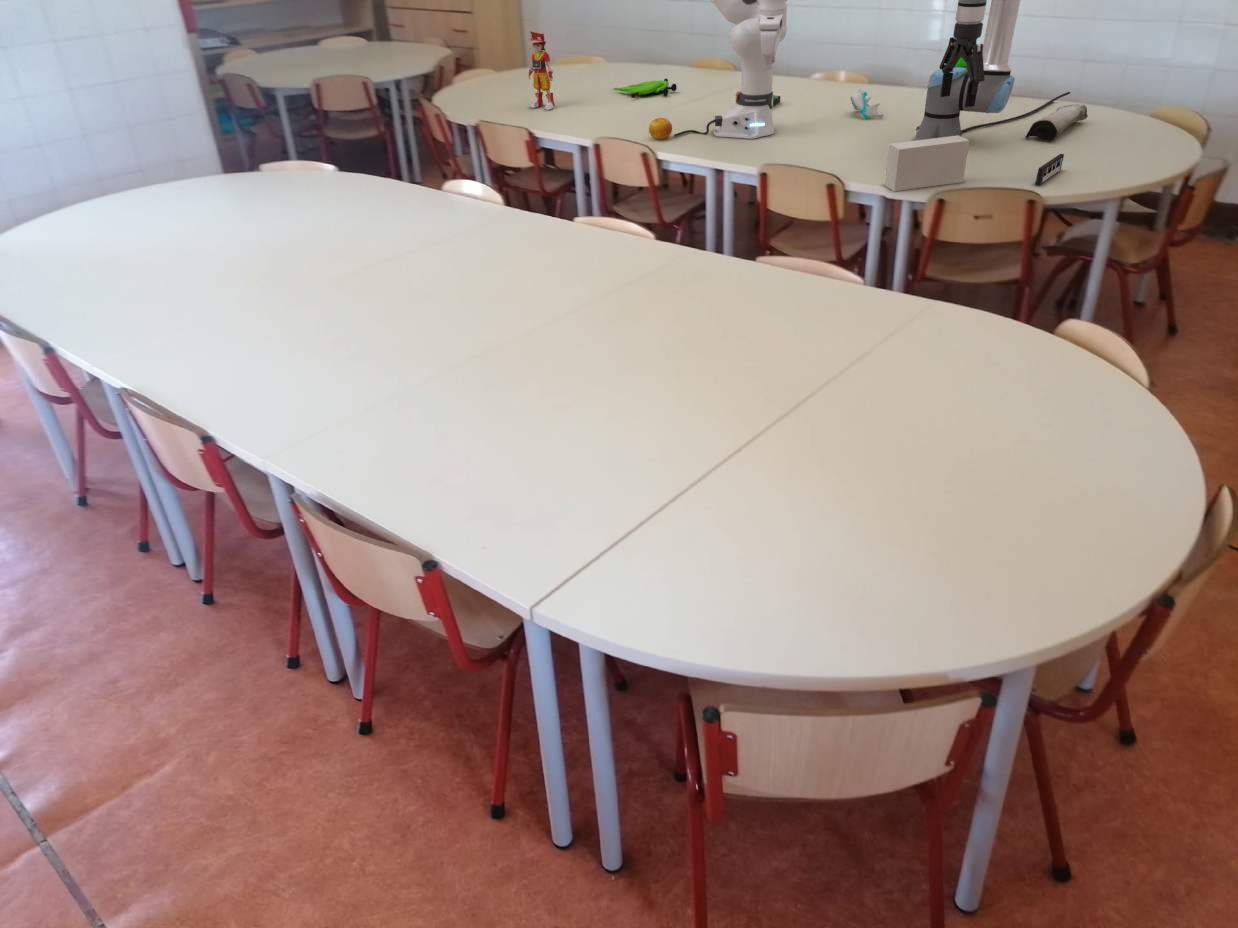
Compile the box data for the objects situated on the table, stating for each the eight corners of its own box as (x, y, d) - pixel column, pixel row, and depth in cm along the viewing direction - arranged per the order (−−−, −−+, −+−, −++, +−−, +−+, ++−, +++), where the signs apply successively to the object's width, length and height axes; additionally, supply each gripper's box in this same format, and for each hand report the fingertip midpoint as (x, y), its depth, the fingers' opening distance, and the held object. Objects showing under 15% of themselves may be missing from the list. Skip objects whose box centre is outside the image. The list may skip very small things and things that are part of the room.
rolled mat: (1054, 109, 326) (1079, 92, 318) (1068, 130, 327) (1093, 113, 318) (1021, 132, 309) (1046, 114, 301) (1035, 154, 309) (1061, 137, 301)
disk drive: (765, 111, 358) (780, 102, 368) (766, 104, 356) (780, 95, 366) (742, 109, 363) (757, 100, 373) (742, 102, 361) (757, 93, 371)
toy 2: (686, 85, 398) (631, 84, 414) (685, 72, 395) (629, 72, 411) (651, 104, 381) (596, 103, 397) (650, 92, 378) (594, 91, 394)
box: (894, 191, 272) (899, 149, 265) (884, 185, 277) (889, 144, 270) (962, 182, 276) (969, 140, 269) (951, 176, 281) (958, 135, 274)
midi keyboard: (1039, 185, 269) (1043, 168, 266) (1035, 184, 270) (1038, 168, 267) (1060, 170, 279) (1064, 154, 277) (1056, 169, 280) (1060, 153, 277)
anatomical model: (845, 88, 347) (871, 81, 346) (848, 115, 353) (873, 108, 352) (857, 97, 335) (883, 90, 334) (859, 125, 341) (885, 118, 340)
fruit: (641, 130, 330) (653, 111, 327) (649, 133, 338) (660, 114, 335) (659, 143, 329) (671, 123, 326) (666, 146, 337) (678, 126, 334)
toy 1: (525, 109, 381) (517, 32, 364) (534, 104, 388) (527, 28, 371) (550, 110, 377) (543, 32, 360) (559, 105, 384) (553, 28, 367)
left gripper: (765, 14, 290) (763, 60, 298) (758, 25, 274) (756, 73, 281) (785, 13, 288) (783, 59, 296) (779, 24, 272) (776, 73, 280)
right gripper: (1006, 27, 243) (992, 109, 255) (957, 14, 263) (946, 91, 275) (981, 30, 241) (968, 112, 254) (934, 17, 262) (924, 93, 274)
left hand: (770, 66), depth 289 cm, fingers open, 8 cm apart
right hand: (956, 101), depth 264 cm, fingers open, 13 cm apart
